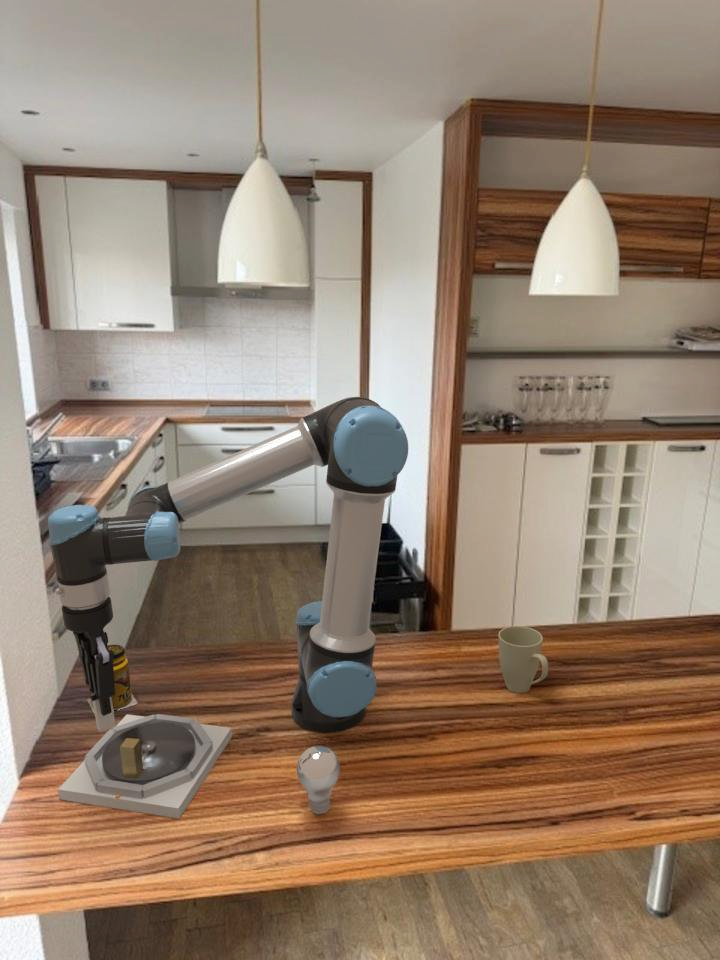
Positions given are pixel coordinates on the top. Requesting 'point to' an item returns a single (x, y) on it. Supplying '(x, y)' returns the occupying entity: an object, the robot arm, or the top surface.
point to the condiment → (120, 680)
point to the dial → (148, 753)
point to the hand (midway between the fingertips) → (106, 727)
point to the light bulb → (318, 776)
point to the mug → (521, 657)
